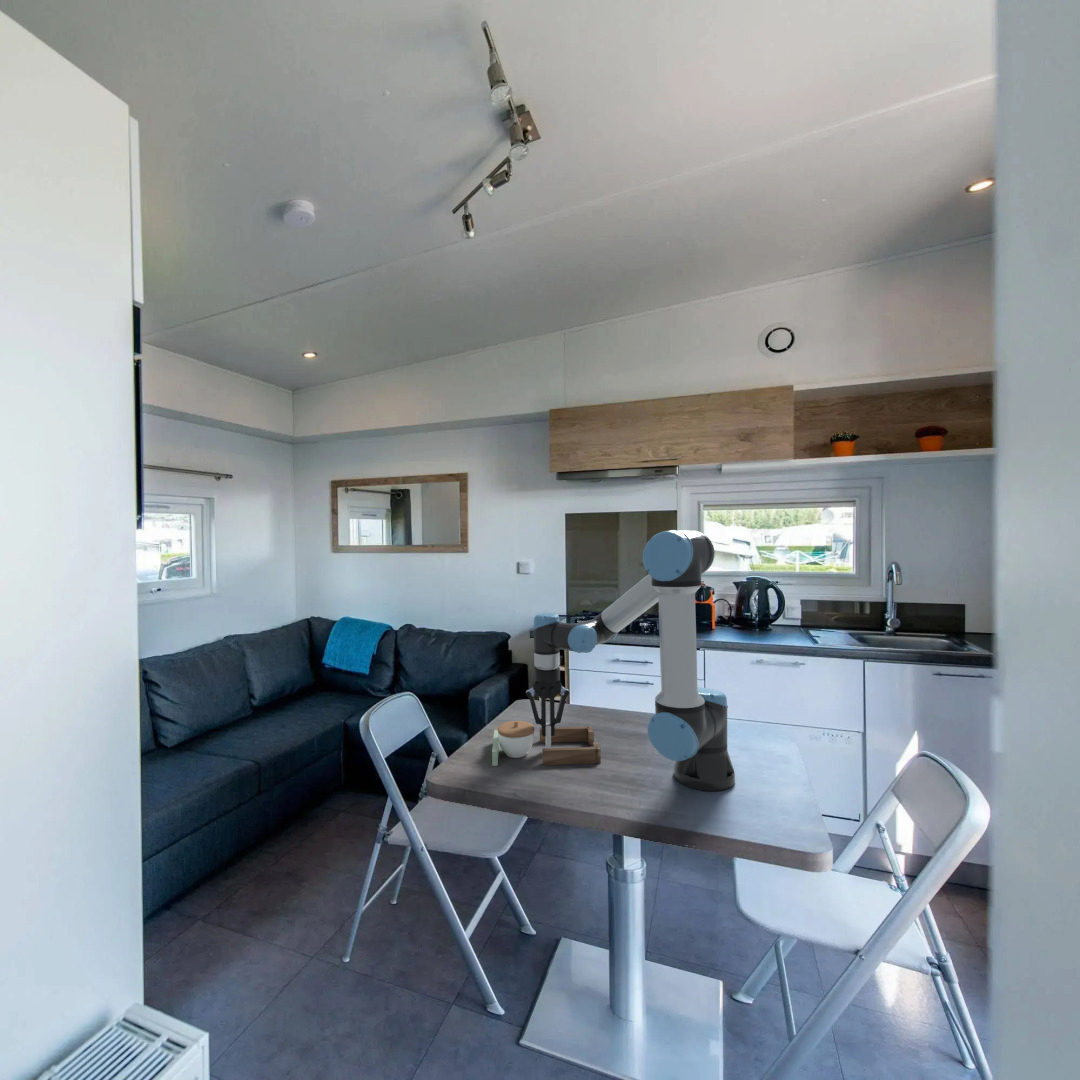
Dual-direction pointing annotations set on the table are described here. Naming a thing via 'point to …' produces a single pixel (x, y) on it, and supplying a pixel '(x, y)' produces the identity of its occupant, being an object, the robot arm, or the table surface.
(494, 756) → the rail
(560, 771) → the table surface
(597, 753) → the cradle
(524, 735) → the lidded jar
